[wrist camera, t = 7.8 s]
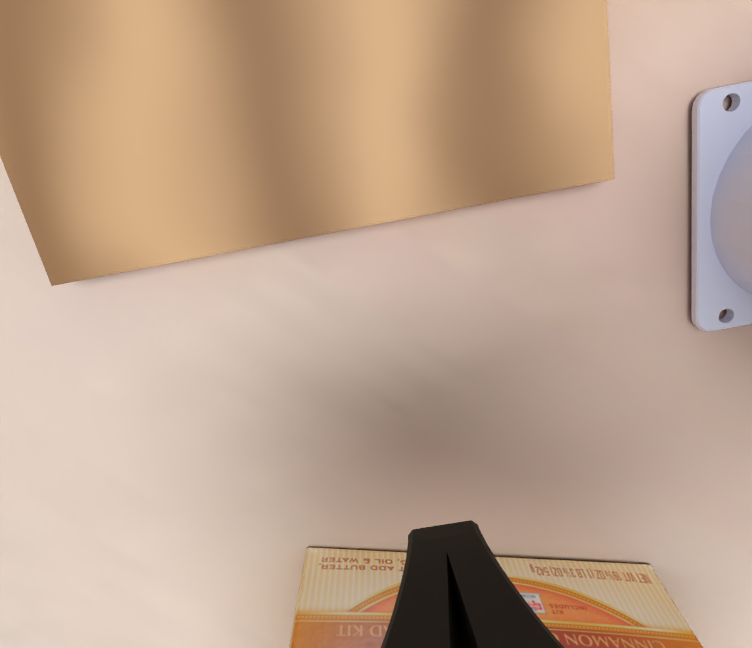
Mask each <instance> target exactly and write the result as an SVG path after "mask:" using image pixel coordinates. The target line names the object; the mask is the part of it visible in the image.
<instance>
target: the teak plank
mask: <svg viewBox="0 0 752 648" xmlns="http://www.w3.org/2000/svg"><path fill="white" fill-rule="evenodd" d="M0 156H1V159H2V161H3V164H4V167H5V169H6V172H7V174H8V177H9V179H10V182H11V184H12V187H13V189H14V192H15V194H16V197H17V199H18V202H19V204H20V207H21V209H22V212H23V214H24V217H25V219H26V222H27V224H28V227H29V230H30V232H31V235H32V237H33V240H34V242H35V245H36V247H37V250H38V252H39V255H40V257H41V260H42V262H43V265H44V267H45V270H46V272H47V275H48V277H49V280H50V282H51V285H52V286H53V285H59V284H64V283H69V282H74V281H80V280H85V279H90V278H96V277H101V276H106V275H111V274H117V273H122V272H127V271H132V270H138V269H143V268H148V267H154V266H159V265H164V264H169V263H175V262H180V261H185V260H190V259H196V258H201V257H206V256H212V255H217V254H222V253H227V252H233V251H238V250H243V249H248V248H254V247H259V246H264V245H270V244H275V243H280V242H285V241H291V240H296V239H301V238H306V237H312V236H317V235H322V234H328V233H333V232H338V231H343V230H349V229H354V228H359V227H364V226H370V225H375V224H380V223H386V222H391V221H396V220H401V219H407V218H412V217H417V216H423V215H428V214H433V213H438V212H444V211H449V210H454V209H459V208H465V207H470V206H475V205H481V204H486V203H491V202H496V201H502V200H507V199H512V198H517V197H523V196H528V195H533V194H539V193H544V192H549V191H554V190H560V189H565V188H570V187H575V186H581V185H586V184H591V183H597V182H602V181H607V180H612V179H614V157H613V134H612V110H611V86H610V62H609V38H608V14H607V0H0Z"/></svg>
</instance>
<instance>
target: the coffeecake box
mask: <svg viewBox="0 0 752 648" xmlns="http://www.w3.org/2000/svg"><path fill="white" fill-rule="evenodd" d="M406 555H407V553H406V552H387V551H367V550H347V549H329V548H311V547H309V548H307V551H306V557H305V562H304V567H303V572H302V577H301V583H300V588H299V593H298V598H297V604H296V610H295V617H294V623H293V628H292V634H291V640H290V645H289V648H381V645H382V643H383V640H384V637H385V634H386V631H387V628H388V625H389V623H390V619H391V616H392V613H393V609H394V606H395V602H396V598H397V595H398V591H399V588H400V584H401V580H402V575H403V571H404V566H405V561H406ZM495 558H496V560H497V561H498V563H499V564H500V566H501V567H502V569H503V570H504V572H505V573H506V575H507V576H508V578H509V579H510V580H511V582H512V583H513V584H514V586H515V587H516V589H517V590H518V591H519V593H520V594H521V595H522V597H523V598H524V599H525V601H526V602H527V603H528V605H529V606H530V607H531V608H532V610H533V611H534V612H535V614H536V615H537V616H538V617H539V618H540V620H541V621H542V622H543V623H544V624H545V626H546V627H547V628H548V629H549V630H550V632H551V633H552V634H553V635H554V636H555V638H556V639H557V640H558V641H559V642H560V643H561V644H562V646H563V647H564V648H703V647H702V645H701V644H700V642H699V641H698V639H697V638H696V636H695V634H694V633H693V631H692V630H691V628H690V627H689V625H688V624H687V622H686V621H685V619H684V618H683V616H682V614H681V613H680V611H679V610H678V608H677V607H676V605H675V604H674V602H673V601H672V599H671V598H670V596H669V595H668V593H667V591H666V590H665V588H664V587H663V585H662V584H661V582H660V580H659V579H658V577H657V576H656V574H655V573H654V570H653V567H652V566H650V565H645V564H629V563H607V562H585V561H570V560H546V559H525V558H506V557H495Z"/></svg>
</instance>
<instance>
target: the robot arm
mask: <svg viewBox="0 0 752 648" xmlns="http://www.w3.org/2000/svg"><path fill="white" fill-rule="evenodd" d="M727 95H729V96H730V97H731V98H732V104H731V107H730V108H729V109H728V110H727V111H726V110H725V109H724V108H723V101H724V98H725V97H726V96H727ZM724 309H727V313H726V315H725V316H724V317H723V318H722V319H719V318H718V317H719V314H720V312H721V311H722V310H724ZM691 318H692V323H693V324H694V325H695V326H696V327H698V328H699V329H701V330H703V331H715V330H721V329H727V328H733V327H738V326H744V325H750V324H752V81H748V82H743V83H738V84H733V85H728V86H722V87H717V88H712V89H708V90H705V91H703V92H701V93H700V94H699V95H698V96H697V97H696V99H695V101H694V102H693V107H692V308H691ZM381 648H564V647H563V646H562V644H561V643H560V642H559V641H558V640H557V639H556V638H555V636H554V635H553V634H552V633H551V632H550V630H549V629H548V628H547V627H546V626H545V624H544V623H543V622H542V621H541V620H540V618H539V617H538V616H537V615H536V614H535V612H534V611H533V610H532V608H531V607H530V606H529V605H528V603H527V602H526V601H525V599H524V598H523V597H522V595H521V594H520V593H519V591H518V590H517V589H516V587H515V586H514V584H513V583H512V582H511V580H510V579H509V578H508V576H507V575H506V573H505V572H504V570H503V569H502V567H501V566H500V564H499V563H498V561H497V560H496V558H495V557H494V555H493V553H492V552H491V550H490V548H489V547H488V545H487V543H486V541H485V540H484V538H483V536H482V534H481V532H480V530H479V527H478V525H477V524H476V523H474V522H473V521H464V522H458V523H452V524H445V525H439V526H433V527H426V528H420V529H414V530H412V531H411V533H410V534H409V535H408V548H407V555H406V561H405V566H404V571H403V575H402V580H401V584H400V588H399V591H398V595H397V598H396V602H395V606H394V609H393V613H392V616H391V619H390V623H389V625H388V628H387V631H386V634H385V637H384V640H383V643H382V645H381Z"/></svg>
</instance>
